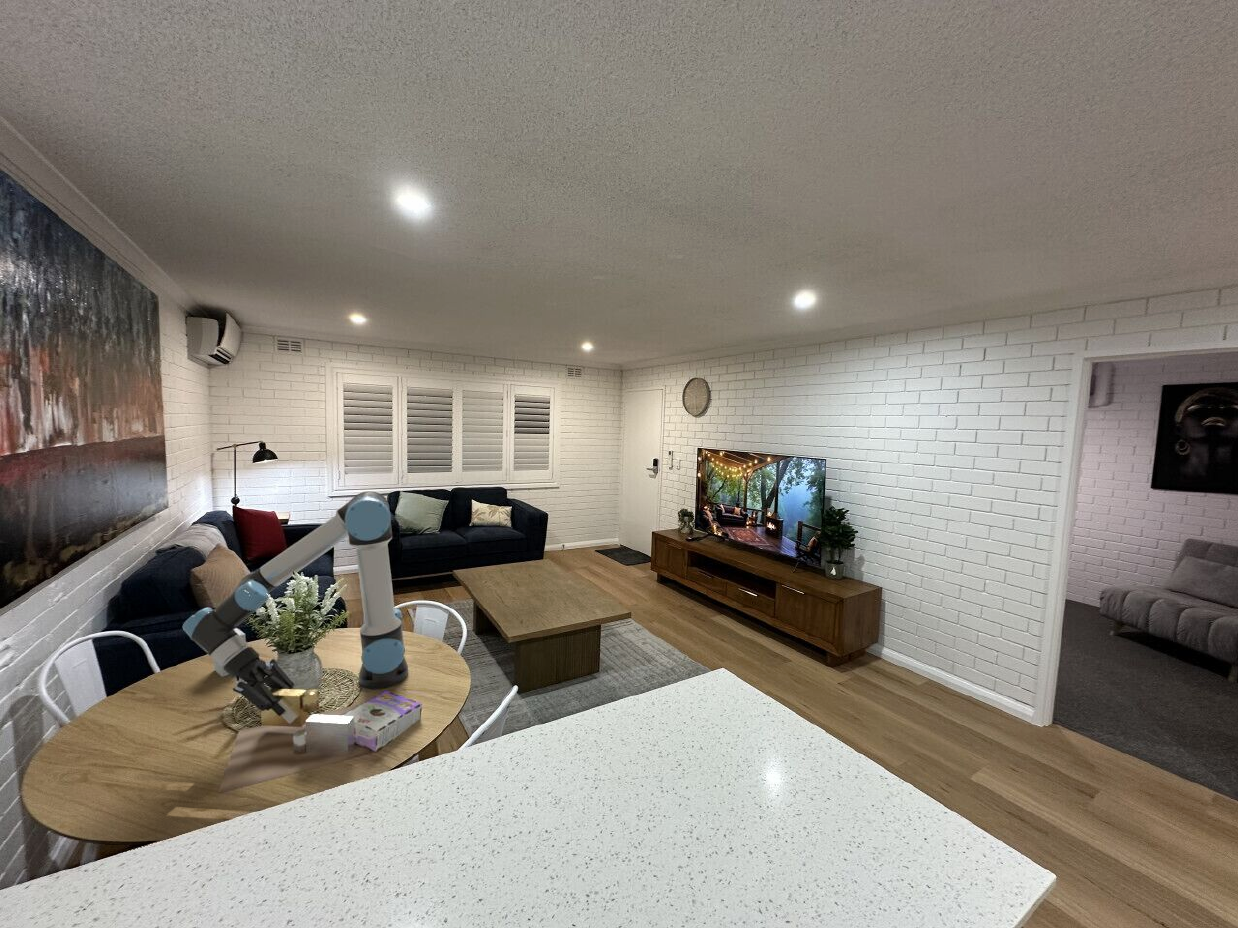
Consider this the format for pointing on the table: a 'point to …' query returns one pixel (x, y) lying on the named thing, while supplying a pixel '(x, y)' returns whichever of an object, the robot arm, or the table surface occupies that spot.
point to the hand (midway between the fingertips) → (298, 715)
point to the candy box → (383, 719)
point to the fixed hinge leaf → (325, 736)
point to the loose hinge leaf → (292, 706)
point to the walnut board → (275, 755)
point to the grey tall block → (219, 668)
